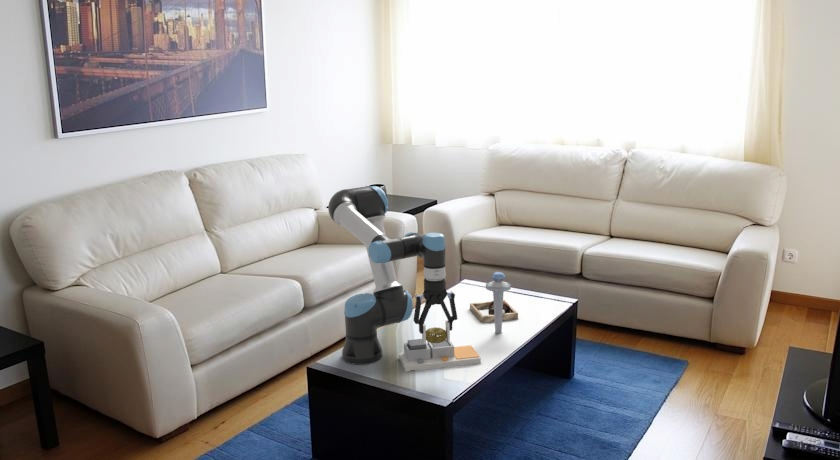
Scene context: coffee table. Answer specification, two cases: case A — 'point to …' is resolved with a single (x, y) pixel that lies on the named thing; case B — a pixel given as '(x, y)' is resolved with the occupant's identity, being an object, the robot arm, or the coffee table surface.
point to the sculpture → (435, 335)
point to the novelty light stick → (498, 297)
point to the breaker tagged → (440, 344)
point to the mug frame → (489, 318)
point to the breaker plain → (416, 344)
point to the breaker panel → (438, 356)
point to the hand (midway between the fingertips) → (435, 340)
